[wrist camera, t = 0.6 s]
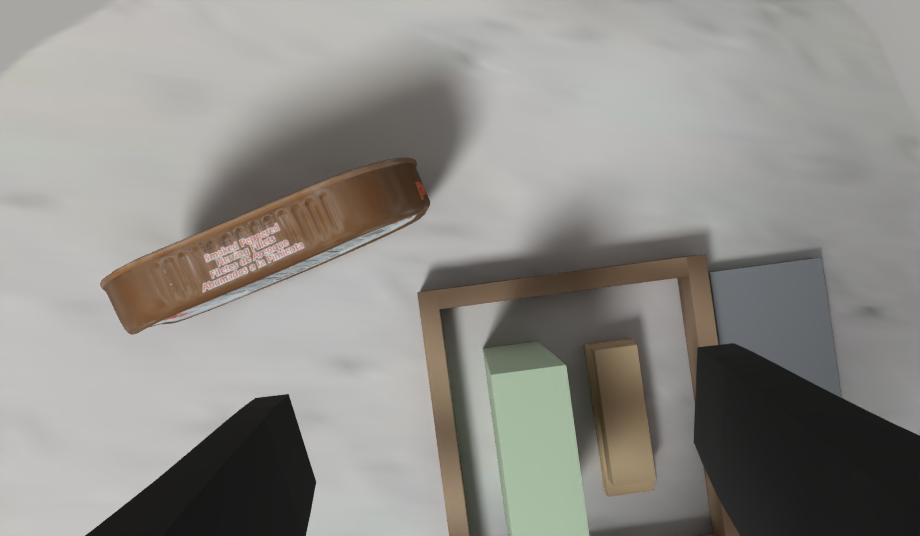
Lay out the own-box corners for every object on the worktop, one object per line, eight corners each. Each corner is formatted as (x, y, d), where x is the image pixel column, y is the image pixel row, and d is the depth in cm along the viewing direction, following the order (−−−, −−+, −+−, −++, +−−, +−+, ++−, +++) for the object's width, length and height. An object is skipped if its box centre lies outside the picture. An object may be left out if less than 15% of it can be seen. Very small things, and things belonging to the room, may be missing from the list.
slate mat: (851, 515, 29) (859, 520, 28) (740, 530, 29) (746, 535, 28) (814, 258, 29) (821, 257, 28) (704, 272, 29) (709, 272, 28)
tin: (419, 171, 29) (402, 129, 21) (441, 224, 29) (434, 203, 21) (165, 278, 29) (45, 279, 21) (187, 332, 29) (76, 354, 21)
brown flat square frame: (734, 549, 29) (749, 564, 27) (458, 586, 29) (458, 603, 27) (693, 255, 29) (705, 254, 28) (419, 291, 29) (417, 292, 28)
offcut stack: (648, 482, 29) (661, 498, 27) (602, 488, 29) (612, 504, 27) (627, 337, 29) (639, 342, 27) (582, 344, 29) (591, 349, 27)
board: (559, 506, 29) (597, 593, 21) (504, 513, 29) (521, 603, 21) (537, 341, 29) (566, 364, 21) (482, 348, 29) (490, 374, 21)
